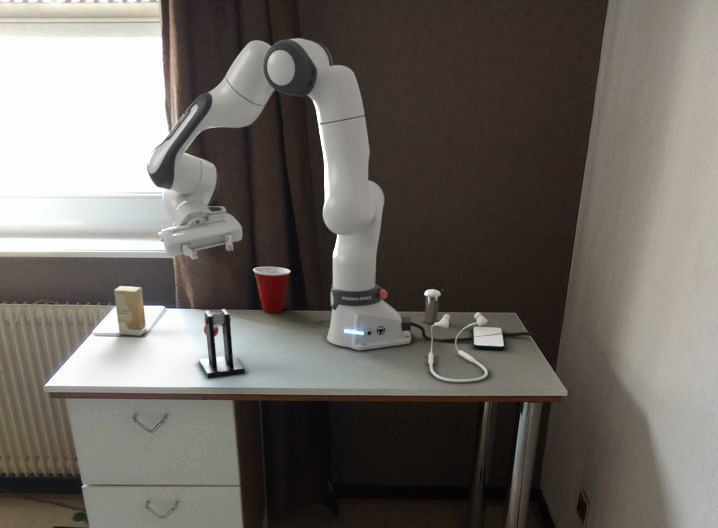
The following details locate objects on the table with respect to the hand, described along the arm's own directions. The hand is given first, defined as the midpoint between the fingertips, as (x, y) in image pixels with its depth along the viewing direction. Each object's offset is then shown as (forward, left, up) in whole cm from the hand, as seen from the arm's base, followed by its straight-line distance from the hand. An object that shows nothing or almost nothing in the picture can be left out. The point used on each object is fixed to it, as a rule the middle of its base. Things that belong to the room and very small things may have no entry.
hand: (213, 252), depth 189 cm
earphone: (-55, +30, -23) cm, 67 cm away
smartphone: (-70, +12, -23) cm, 75 cm away
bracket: (+1, +20, -23) cm, 30 cm away
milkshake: (-60, -5, -23) cm, 65 cm away
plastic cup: (-17, -25, -23) cm, 38 cm away
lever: (+2, +17, -15) cm, 22 cm away
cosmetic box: (+23, -11, -23) cm, 34 cm away
